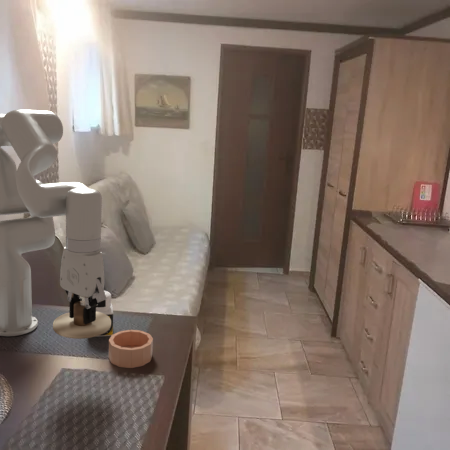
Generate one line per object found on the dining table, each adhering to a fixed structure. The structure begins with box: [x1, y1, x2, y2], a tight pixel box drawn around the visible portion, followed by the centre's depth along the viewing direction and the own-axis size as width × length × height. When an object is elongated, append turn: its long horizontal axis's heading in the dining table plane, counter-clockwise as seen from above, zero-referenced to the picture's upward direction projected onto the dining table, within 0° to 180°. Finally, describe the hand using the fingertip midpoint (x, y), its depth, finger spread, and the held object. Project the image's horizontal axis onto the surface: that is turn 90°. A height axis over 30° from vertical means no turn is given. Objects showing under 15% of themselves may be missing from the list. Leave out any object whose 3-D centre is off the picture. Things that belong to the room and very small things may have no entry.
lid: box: [52, 300, 111, 340], centre depth 111 cm, size 13×13×5 cm
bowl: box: [108, 329, 154, 369], centre depth 126 cm, size 11×11×5 cm
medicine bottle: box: [90, 290, 114, 338], centre depth 138 cm, size 7×7×12 cm
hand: (82, 318), depth 112 cm, fingers closed on lid, 4 cm apart
